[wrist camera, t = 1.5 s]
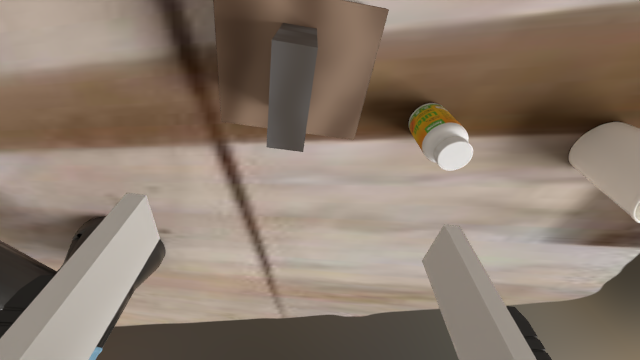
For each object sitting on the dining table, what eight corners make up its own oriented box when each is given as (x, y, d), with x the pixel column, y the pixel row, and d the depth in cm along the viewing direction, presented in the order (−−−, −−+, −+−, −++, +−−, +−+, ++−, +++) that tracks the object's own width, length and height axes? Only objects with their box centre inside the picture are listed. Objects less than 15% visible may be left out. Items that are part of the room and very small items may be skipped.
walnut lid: (226, 114, 31) (195, 162, 23) (218, -25, 23) (168, -26, 15) (352, 131, 32) (364, 182, 24) (383, 7, 25) (417, 22, 17)
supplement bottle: (426, 94, 36) (456, 127, 28) (454, 113, 38) (490, 149, 30) (399, 126, 39) (421, 164, 31) (427, 143, 41) (454, 182, 33)
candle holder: (652, 115, 39) (764, 161, 29) (609, 171, 44) (690, 224, 35) (584, 116, 38) (674, 163, 29) (550, 172, 44) (615, 226, 35)
